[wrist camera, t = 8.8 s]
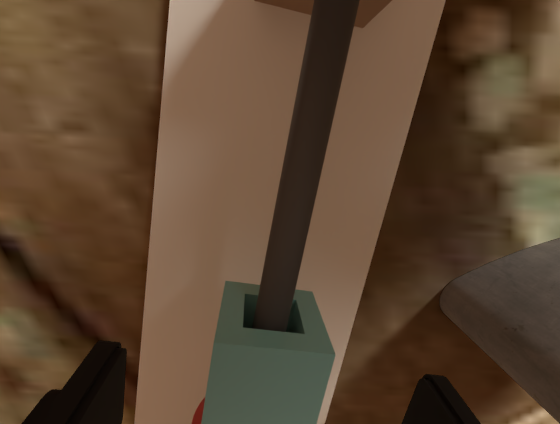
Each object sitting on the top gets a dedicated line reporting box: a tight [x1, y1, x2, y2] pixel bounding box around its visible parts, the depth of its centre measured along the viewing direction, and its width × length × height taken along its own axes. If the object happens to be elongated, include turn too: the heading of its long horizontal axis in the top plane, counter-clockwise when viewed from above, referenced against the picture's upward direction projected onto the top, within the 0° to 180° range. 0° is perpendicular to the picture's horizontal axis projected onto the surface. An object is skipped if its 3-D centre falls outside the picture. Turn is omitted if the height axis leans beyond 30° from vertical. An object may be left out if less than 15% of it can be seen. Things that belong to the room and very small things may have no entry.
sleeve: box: [201, 281, 336, 424], centre depth 11 cm, size 5×4×4 cm
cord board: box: [134, 0, 446, 424], centre depth 13 cm, size 30×12×10 cm, turn 169°
